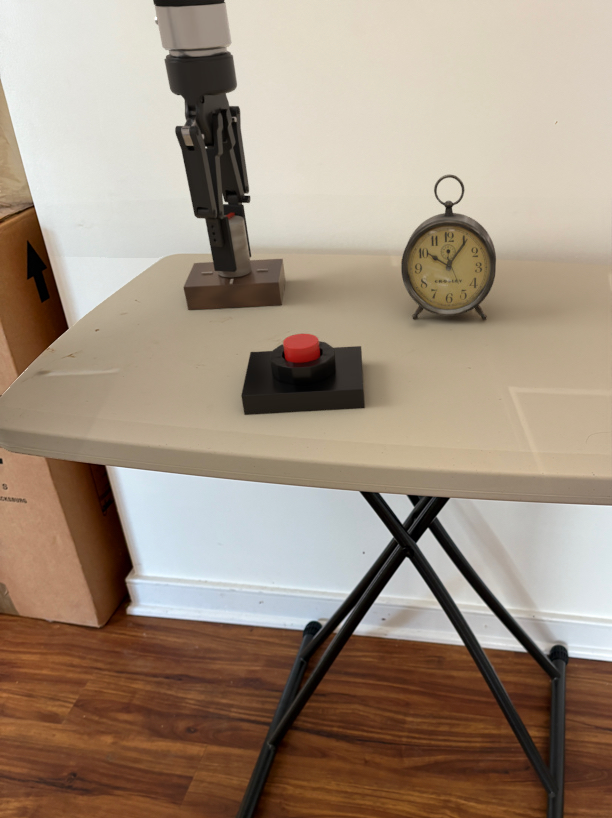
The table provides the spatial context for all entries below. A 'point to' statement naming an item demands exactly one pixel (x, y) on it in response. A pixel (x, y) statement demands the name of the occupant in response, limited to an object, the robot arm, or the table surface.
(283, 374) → the switch block
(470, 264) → the alarm clock
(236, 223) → the dimmer knob
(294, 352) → the light button
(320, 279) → the table surface
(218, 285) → the panel
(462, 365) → the table surface
